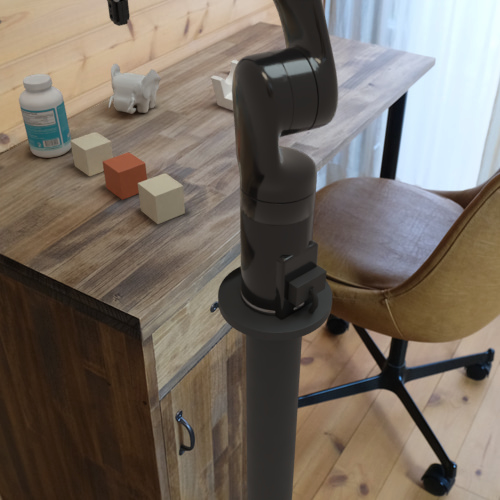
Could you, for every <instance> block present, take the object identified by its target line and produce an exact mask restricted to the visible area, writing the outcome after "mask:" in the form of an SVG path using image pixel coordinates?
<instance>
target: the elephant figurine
mask: <svg viewBox="0 0 500 500" xmlns="http://www.w3.org/2000/svg"><path fill="white" fill-rule="evenodd" d="M110 78H111V80H110V81H111V89H112V93H113V94H111V96H110V98H109V101H108V108H110V107H111V104H113V107H114V109H115V110H116V111H118V112H123V113H127V114H131V115H132V114H134V113H136V111H137V112H138V113H143V114H147V113H148V112H149V110H150V109H154V108H155V106H156V101H157V92H158V90H159V88H160V83H161V81H162V78H161V76H160V75H159V73H158V72H157V71H156V70H155V69H153V68H151V69H150V70H149V72H148V73H146V75H145V74H140V73H134V72H133V73H132V72H123V73H122V72H121V67H120V65H119V64H118V63H112V65H111V67H110ZM112 102H113V103H112ZM135 107H136V108H135Z"/></svg>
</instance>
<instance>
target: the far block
mask: <svg viewBox="0 0 500 500" xmlns="http://www.w3.org/2000/svg"><path fill="white" fill-rule="evenodd" d="M70 142H71V153H72V158H73V164H74V167H75V168H76V169H78V170H79V171H81V172H83V173H84V174H85V175H86V176H87V177H92V176H95V175H97V174H100V173H104V169H103V161H105V160H108V159H111V158H113V157H114V153H113V147H112V146H113V145H112V141H111V140H109V138H107V137H105V136H103V135H102V134H100V133H98V132H96V131H93V132H90V133H88V134H84V135H82V136H79V137H76V138H73V139H71V140H70Z"/></svg>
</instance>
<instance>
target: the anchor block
mask: <svg viewBox="0 0 500 500" xmlns="http://www.w3.org/2000/svg"><path fill="white" fill-rule="evenodd" d="M103 169H104V171H103V175H104V180H105V187H106V188H105V189H107V190H108V191H110V192H111V193H112V194H114V195H115V196H116V197H118V198H119V199H121V201H123V200H125V199H128V198H131V197H134V196H136V195H139V190H138V183H139V182H142V181H145V180H148V176H147V175H148V174H147V164H146V162H144V161H143V160H142V159H140V158H139V157H137V156H136V155H134V154H132V153H131V152H130V151H128V152H125V153H122V154H119V155H117V156H113V158H111V159H108V160H105V161H103Z"/></svg>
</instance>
